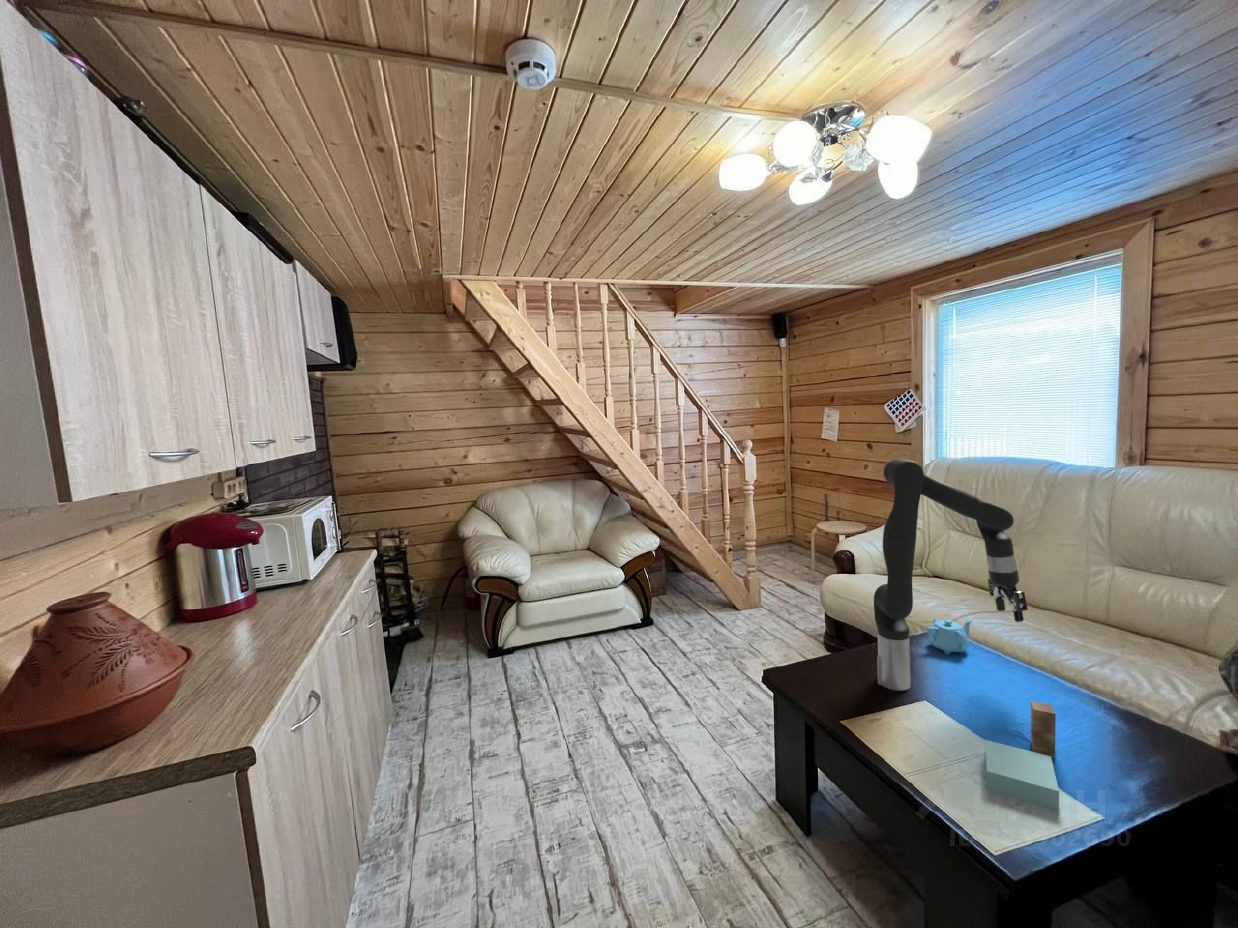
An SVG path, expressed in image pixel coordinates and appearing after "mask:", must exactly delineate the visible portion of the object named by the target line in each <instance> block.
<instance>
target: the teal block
mask: <svg viewBox="0 0 1238 928" xmlns="http://www.w3.org/2000/svg"><path fill="white" fill-rule="evenodd" d="M984 756H985V757H984V761H985V776H986V777H985V778H986V790H989V791H992V792H994V793H995V792H996V793H1000V794H1003V795H1006V796H1008V797H1012V798H1017V799H1018V800H1019V799H1020V800H1022V801H1026V802H1029V803H1033V804H1037V805H1040V806H1043V807H1046V808H1049V809H1053V810H1056V811H1059V810H1060V790H1059V785H1058V781H1057V777H1056V772H1055V767H1054V764H1053V760H1052V757H1051V756H1047V755H1043V754H1039V753H1035V752H1033V751H1032V750H1031V751H1030V750H1028V749H1022V748H1018V747H1015V746H1011V745H1007V744H1003V743H999V742H995V741H991V740H987V739H985V740H984Z"/></svg>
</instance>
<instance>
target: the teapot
mask: <svg viewBox="0 0 1238 928" xmlns="http://www.w3.org/2000/svg"><path fill="white" fill-rule="evenodd" d="M973 621H974V619H968V620H966V621H965V623H964V625H963V626H961V625H960V624H959V623H957V622H955V621H953V620H950V619H943V620H941V619H937V618H936V619H934V620H933V621H932V625H931V626H929V627H927V628H926V632H927V634H928V639H929V641H930V642H931V644H932V645H933V647H934V648H937V649H940V650H942V651H943V654H944V655H951V653H962V654H964V653H965V651H967V650H968V648H969V647H970V642H969V638H968V637H969V636H970V626H971V623H972V622H973Z"/></svg>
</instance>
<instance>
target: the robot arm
mask: <svg viewBox="0 0 1238 928" xmlns="http://www.w3.org/2000/svg"><path fill="white" fill-rule="evenodd" d="M883 477H884V479H885V481H886V482H887V483H889V485H890V486H893V487H894V494H893V495H894V498H893V504H892V508H891V510H890V512H889V515H888V517H887V518H886V521H885V523H884V528H883V535H882V552H883V558H884V562H885V566H886V572H887V581H886V583H885V584H880V585H879V586H878V587H877V588H876V590H875V591H874V595H873V610H874V611H873V612H874V621H875V625H876V627H877V628H876V629H877V651H878V652H877V658H876V659H877V660H876V663H877V684H878V685H880V686H882V687H883V688H886V689H888V690H892V691H898V692H901V691H907V690H909V689H910V688H911V686H912V685H911V650H910V628H909V625H908V624H907V621H906V618H908V617H909V616H910V614H911V612H912V611H913V606H914V598H913V593H914V592H913V572H914V562H915V552H916V543H917V527H918V526H917V525H918V518H919V517H918V515H919V505H920V498H921V496H923V497H926V498H928V499H930V500H931V501H934V502H936V503H938V504H939V505H941V506H943V507H945V508H947V509H948V510H951V511H953V512H955V513H957V514H958V515H959V514H960V515H961V516H963V517H966V518H970V519H973V520H975V521H976V525H977V527H978V530H979V532H980V536H981V537H982V540H983V541H984V547H985V553H986V566H987V570H988V577H989V578H988V579H987V582H988V590H989V595H990V596H991V597H993V599H994V601H995V606H996V607H995V608H996V611H999V612H1003V611H1006V604H1005V600H1006V602H1007V604H1009V605H1010V606H1011V609H1012V612H1013V617H1014V618H1013V619H1014V621H1015V622H1016V623H1019V622H1021V623H1022V622H1024V613H1023V611H1028V606H1027V605H1028V603H1027V599H1026V595H1025V592H1024V591H1023V590H1020V591H1019V590H1018V589H1017V587H1016V585H1017V584H1019V583H1020V577H1019V571H1018V565H1017V564H1018V563H1017V559H1016V556H1015V553H1014V552H1015V551H1014V547H1013V542H1012V539H1011V537H1009V536H1008V535H1007V534H1006V533H1005V531H1007V530H1010V528H1011V527H1013V525H1014V517H1013V515H1012V514H1011V512H1010V511H1008V510H1007V509H1005V508H1003V507H1001V506H998V505H997V504H993V503H990V502H988V501H985V500H982V499H981V498H979V497H978V496H976V495H974V494H971V493H969V492H967V491H966V490H963V489H961V488H959V487H956V486H954V485H951V484H948V483H945V482H943V481H940V480H938V479H935V478H933V477H931V476H929V475H927V474H925V472H924V469H923V467H922V466H921V465H920V464H919V463H918V462H916V461H912V460H909V459H904V458H903V459H902V458H897V459H892V460H890V461H889V462H888V463H886V464H885V466H884V468H883ZM1004 599H1005V600H1004Z"/></svg>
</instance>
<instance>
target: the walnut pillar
mask: <svg viewBox="0 0 1238 928" xmlns="http://www.w3.org/2000/svg"><path fill="white" fill-rule="evenodd" d="M1056 725H1057V724H1056V711H1055V708H1054V704H1049V703H1045V702H1038V701H1035V700H1030V742H1031V745H1030V746H1031V751H1032V752H1035V753H1039V754H1043V755H1047V756H1051V759H1052V758H1053V759H1056Z"/></svg>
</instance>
